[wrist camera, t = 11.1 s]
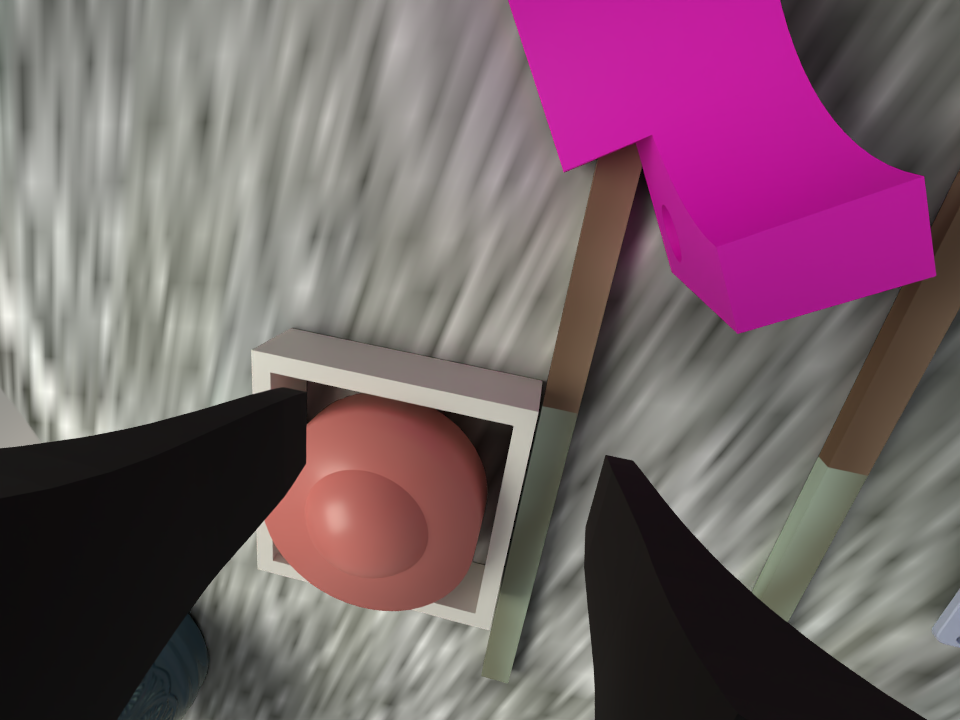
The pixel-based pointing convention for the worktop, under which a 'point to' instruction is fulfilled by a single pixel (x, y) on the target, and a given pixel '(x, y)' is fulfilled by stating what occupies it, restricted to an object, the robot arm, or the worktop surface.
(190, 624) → the canister
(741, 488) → the worktop surface
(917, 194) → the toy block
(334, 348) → the white square frame
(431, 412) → the dome
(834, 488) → the game lane
